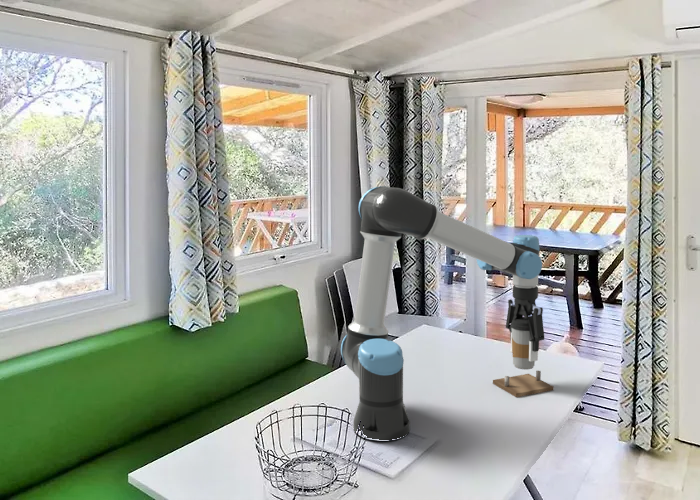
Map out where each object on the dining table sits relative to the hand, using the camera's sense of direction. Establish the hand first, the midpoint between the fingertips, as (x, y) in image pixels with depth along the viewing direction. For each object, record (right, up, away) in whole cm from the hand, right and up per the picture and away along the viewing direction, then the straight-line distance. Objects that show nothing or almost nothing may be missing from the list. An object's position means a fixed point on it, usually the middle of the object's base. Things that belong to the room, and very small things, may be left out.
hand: (523, 356), depth 180 cm
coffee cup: (0, -3, 0) cm, 4 cm away
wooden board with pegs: (0, -10, +1) cm, 10 cm away
